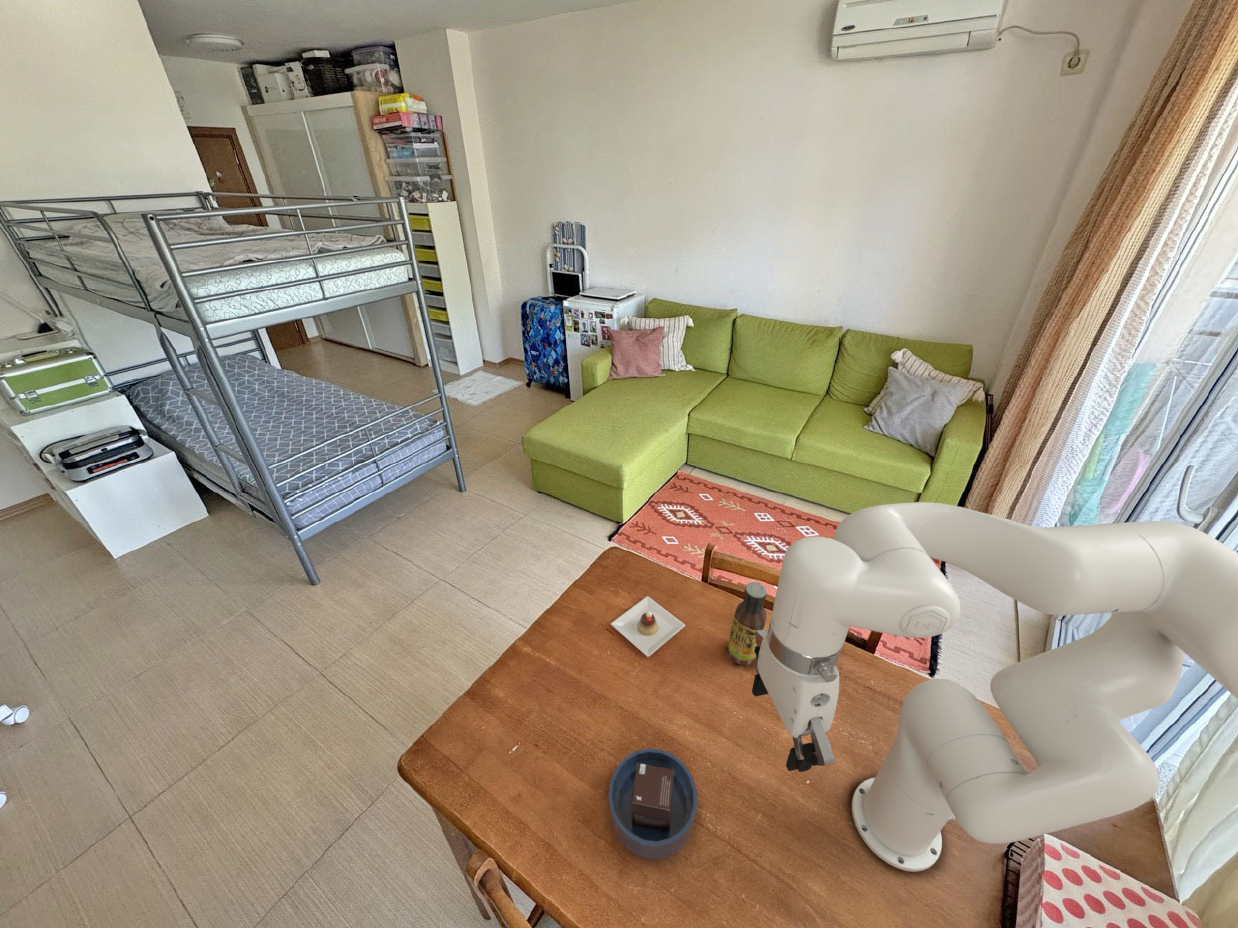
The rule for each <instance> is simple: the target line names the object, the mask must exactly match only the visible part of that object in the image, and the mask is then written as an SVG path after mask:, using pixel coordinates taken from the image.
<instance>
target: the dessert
mask: <svg viewBox="0 0 1238 928" xmlns="http://www.w3.org/2000/svg"><path fill="white" fill-rule="evenodd" d="M610 625H611V627H613V628H614V629H615V630H616V631H618V633H620V634H621V635H622V636H623V637H625V639H627V640H628V641H629V642H630V643H631V644H632V645H634V646H635V647H636V648H637V649H638V650H639V651H640V652H641V653H642V654H643V655H645V656H646V657H647V658H649V657H651V656H652V655H653V654H654V653H655V652H656V651H658V649H660V648H661V647H662V646H664V645H665V644H666V643H667V642H668V641H669V640H671V639H672V638H673V637H674V636H675V635H677V634H678V633H679V632H680V631H681V630H683V629H684V627H686V624H685V623H684V622H682V621H681V620H680V619H679V618H677V616H674V614H672V613H671V612H669V611H668V610H667V609H665V608H664V607H663V606H661V605H660V604H659V603H657V602H656V601H655V600H654V599H652V598H651V597H650V596H648V595H647V596H645V597H644V598H643V599H641V600H640V601H639V602H637V603H636V604H635V605H633V606H632V607H630V609H627V610H626V611H625V612H623V613H622V614H621V615H620V616H618V617H617V618H616V619H615V620H613V621H612V622H610Z"/></svg>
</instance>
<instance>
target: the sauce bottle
mask: <svg viewBox="0 0 1238 928" xmlns="http://www.w3.org/2000/svg"><path fill="white" fill-rule="evenodd" d="M743 593H744V597H743V600H742V601H741V602H740V603H738V604H737V606H736V608H735V612H734V614H733V617H732V624H731V628H730V634H729V637H728V638H729V639H728V643H727V648H728V649H727V653H728V655H729V657H730V658H731V660H732V661H733V662H734V663H736V664H738V665H742V666H749V665H752V664H753V663H755V662H756V661H757V658H756V654H755V652H754V650H755V647H756V646H757V644H756V640H755V631H757V630H763V629H764V630H765V628H766V621H767V612H766V611H767V610H766V609H765V607H764V604H765V600H766V599H767V594H768V590H767V588H766V587H765V586H764V585H763V584H762V583H760V582H754V581H753V582H749V583H747V584H746V586H745V588H744V592H743Z"/></svg>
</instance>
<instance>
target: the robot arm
mask: <svg viewBox="0 0 1238 928" xmlns="http://www.w3.org/2000/svg"><path fill="white" fill-rule="evenodd" d="M934 560H938V561H941V562H945V563H947V564H950V565H953V566H954V567H957V568H959V569H961V570H963V571H965V572H967V573H969V574H971V575H972V576H974V577H977V578H978V579H979V580H981V581H983V582H984V583H986V584H988V585H989V586H991V587H993V588H994V589H995V590H997V591H999V592H1001V593H1002V594H1004V595H1005V596H1007V597H1009V598H1011V599H1013V600H1015V601H1017V602H1018V603H1021V604H1022V605H1025V606H1026V607H1028V608H1030V609H1032V610H1035V611H1037V612H1040V613H1043V614H1046V615H1049V616H1060V617H1061V616H1062V617H1063V616H1076V615H1078V616H1079V615H1094V614H1109V613H1110V614H1111V613H1112V614H1111V616H1110V617H1109V618H1108V620H1106V621H1105V622H1104V623H1103V625H1102V626H1101V627H1099V628H1098V629H1096V630H1095V631H1094V632H1092V633H1090V634H1088V635H1085V636H1083V637H1081V638H1080V637H1079V638H1078V639H1076V640H1074V641H1070V642H1068V643H1066V644H1062V645H1060V646H1057V647H1055V648H1052V649H1050V650H1047V651H1044V652H1042V653H1039V654H1036V655H1034V656H1031V657H1028V658H1025V659H1023V660H1020V661H1017V662H1015V663H1013V664H1010V665H1009V666H1006V667H1004V668H1002V669H1000V670H999V671H998V672H996V673H995V674H994V675H993V676H992V678H991V680H990V683H989V686H990V692H991V695H992V698H993V700H994V702H995V703H996V705H997V707H998V708H999V710H1000V712H1001V713H1002V715H1003V716H1004V718H1005V719H1006V720H1007V722H1008V723H1009V725H1010V727H1011V728H1012V729H1013V731H1014V733H1016V735H1017V736H1018V738H1019V739H1020V741H1021V742H1022V744H1023V745H1024V746H1025V749H1027V751H1028V753H1029V754H1030V756H1031V757H1032V758H1033V759H1034V761H1035V763H1036V765H1037V768H1036V769H1035V770H1033V771H1032V772H1029V773H1028V771H1027V769H1026V768H1025V766H1024V765H1023V764H1022V762H1021V761H1020V759H1019V757H1018V756H1017V754H1016V753H1015V751H1014V750H1013V749H1012V747H1011V746H1010V744H1009V743H1010V742H1009V741H1008V740H1007V738H1006V737H1005V735H1004V734H1003V733H1002V731H1001V729H1000V728H999V727H998V725H997V723H996V722H995V720H994V719H993V718H992V716H991V715H990V714H989V712H988V710H987V709H986V708H985V706H984V705H983V704H982V702H981V701H980V700H979V699H978V698H977V697H976V696H975V695H974V693H972V692H971V691H970V690H969V689H968V688H966V687H965V686H963V685H962V684H960V683H958V682H956V681H954V680H950V679H947V678H931V679H927V680H924V681H921V682H920V683H918V684H916V685H915V686H914V687H912V688H911V689H910V690H909V691H908V693H907V694H906V696H904V699H903V701H902V704H901V708H900V712H899V718H898V727H897V732H896V735H895V737H894V739H893V742H892V743H891V745H890V748H889V750H888V751H887V753H886V755H885V758H884V759H883V761H882V763H881V766H880V767H879V769H878V772H877V773H876V775H875V777H870V778H868V779H865V780H863V781H862V782H861V783H860V784H859V785H858V786H857V788H856V789H855V790H854V792H853V796H852V799H851V816H852V819H853V822H854V825H855V828H856V830H857V832H858V834H859V836H860V837H861V838H862V840H863V842H864V843H865V845H866V846H867V847H869V849H870V850H871V851H872V852H873V853H874V854H875V855H876V856H877V857H878V858H879V859H880V860H882V861H884V862H885V863H886V864H888V865H890V866H892V867H894V868H896V869H898V870H902V871H905V872H910V873H911V872H912V873H916V872H917V873H918V872H923V871H926V870H927V869H930V868H932V866H934V864H935V863H936V862H937V861H938V859H939V858H940V855H941V853H942V848H943V838H942V837H943V836H942V829H943V828H944V827H945V825H946V824H947V823H948V822H949V821H955V820H956V822H957V823H958V825H959V827H961V828H962V830H963V831H964V832H965V833H966V834H967V835H968V836H969V837H970V838H972V839H974V840H976V841H978V842H980V843H983V844H990V845H1003V844H1010V843H1016V842H1020V841H1024V840H1028V839H1032V838H1037V837H1039V836H1043V835H1047V834H1051V833H1054V832H1059V831H1063V830H1065V829H1069V828H1073V827H1077V826H1080V825H1085V824H1088V823H1091V822H1096V821H1100V820H1103V819H1107V818H1110V817H1114V816H1117V815H1120V814H1123V813H1126V812H1129V811H1131V810H1134V809H1136V808H1138V807H1140V806H1142V805H1144V804H1145V803H1147V802H1148V801H1149V800H1150V799H1152V797H1154V796H1155V794H1156V793H1157V792H1158V790H1159V787H1160V784H1161V779H1160V773H1159V770H1158V768H1157V766H1156V765H1155V762H1154V761H1153V760H1152V758H1151V757H1150V755H1149V754H1148V752H1147V751H1146V750H1145V749H1144V748H1143V746H1142V745H1141V744H1140V743H1139V742H1138V740H1136V739H1135V737H1134V736H1133V735H1132V734H1131V733H1130V732H1129V731H1128V730H1127V728H1125V726H1124V725H1123V724H1122V723H1121V720H1124V719H1127V718H1130V717H1132V716H1134V715H1137V714H1141V713H1143V712H1146V711H1149V710H1152V709H1156V708H1158V707H1160V706H1162V705H1164V704H1167V703H1168V701H1169V700H1170V699H1171V697H1172V696H1173V694H1174V693H1175V691H1176V690H1177V687H1178V684H1179V681H1180V679H1181V675H1182V671H1183V666H1184V660H1185V656H1187V657H1189V658H1190V660H1192V661H1193V662H1194V663H1195V664H1197V666H1199V667H1200V668H1201V669H1202V670H1203V671H1205V672H1206V673H1207V674H1208V675H1210V677H1212V679H1214V680H1215V681H1216V682H1217V683H1218V684H1219V685H1221V686H1222V687H1223V688H1224V689H1226V690H1227V691H1228V692H1229V693H1230V694H1231V695H1232V696H1233V697H1234V698H1236V700H1238V552H1236V551H1235V550H1234V549H1232V548H1230V546H1227V545H1226V544H1224V543H1222V542H1221V541H1220V540H1217V539H1216V538H1215V537H1213V536H1211V535H1209V534H1207V533H1206V532H1204V531H1202V530H1199V529H1197V528H1195V527H1193V526H1190V525H1188V524H1185V523H1184V524H1183V523H1180V522H1175V521H1167V520H1148V521H1147V520H1146V521H1129V522H1113V523H1111V522H1110V523H1100V524H1099V523H1098V524H1081V525H1079V524H1078V525H1062V526H1049V527H1047V526H1045V527H1042V526H1041V527H1037V526H1031V525H1028V524H1024V523H1021V522H1020V521H1019V522H1018V521H1015V520H1012V519H1009V518H1006V517H1002V516H997V515H994V514H990V513H985V512H982V511H978V510H974V509H970V508H966V507H964V506H963V507H962V506H958V505H955V504H954V505H953V504H949V503H942V502H932V501H916V502H912V501H911V502H898V503H886V504H877V505H873V506H868V507H864V508H860V509H858V510H856V511H854V512H852V513H850V514H849V515H847V516H846V517H844V518H843V519H842V520H841V521H840V522H839V524H838V525H837V527H836V528H835V531H834V535H833V538H830V537H825V536H805V537H802V538H800V539H798V540H796V541H794V542H793V543H792V544H791V545H790V546H788V548H787V549H786V551H785V553H784V556H783V560H782V564H781V568H780V573H779V578H778V583H777V588H776V592H775V597H774V602H773V607H772V612H771V615H770V620H769V625H768V626H767V628H766V629H765V628H764V629H763V630H757V631H755V640H756V644H757V646H756V647H755V650H754V652H755V654H756V663H754V664H753V667H754V671H755V673H756V674H755V675H754V678H753V683H752V688H751V693H752V695H753V696H754V697H760V696H764V695H768V696H769V698H770V700H771V701H772V704H773V706H774V708H775V710H776V712H777V714H778V716H779V718H780V721H781V722H782V724H783V726H784V727H785V729H786V731H787V732H788V734H789V735H790V736H792V741H793V747H791V748H790V750H789V753H788V756H787V760H786V763H785V767H786V769H787V771H788V772H792V771H796V770H797V771H798V772H799V773H803V772H807V771H809V770H811V769H812V766H813V767H815V766H818V767H825V766H829V765H833V764H834V765H835V764H836V758H835V756H834V752H833V749H832V746H831V743H830V740H829V738H828V734H827V732H829V731H830V729H831V727H832V725H833V722H834V718H835V714H836V710H837V706H838V700H839V693H840V671H839V669H838V667H837V665H838V662H839V658H840V656H841V653H842V651H843V647H844V645H845V641H846V638H847V635H848V632H849V630H850V628H851V627H853V628H858V629H862V630H867V631H872V632H875V633H880V634H885V635H890V636H896V637H900V638H901V637H902V638H909V639H911V638H912V639H924V638H932V637H936V636H939V635H941V634H944V633H946V632H947V631H950V629H952V628H953V627H954V626H955V625H956V624H957V622H958V620H959V618H960V616H961V611H962V610H961V609H962V607H961V601H960V599H959V596H958V594H957V592H956V590H955V588H954V587H953V585H952V584H951V582H950V581H949V580H948V578H947V577H946V576H945V575H944V573H943V572H942V571H941V569H940V568H939V567H938V566H937V564H936V563H935V561H934ZM808 735H810V739H811V742H807V743H803V739H802V737H805V736H808Z"/></svg>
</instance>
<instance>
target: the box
mask: <svg viewBox="0 0 1238 928" xmlns="http://www.w3.org/2000/svg"><path fill="white" fill-rule="evenodd" d="M673 779H674V770H671V769H666V768H661V767H655V766H650V765H645V764H640V763H638V764H637V769H636V775H635V781H634V788H633V794H632V801H631V803H632V806H631V807H632V824H633V825H637V826H642V827H647V828H652V829H657V830H662V831H666V832H669V826H670V817H671V807H672V796H673Z"/></svg>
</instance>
